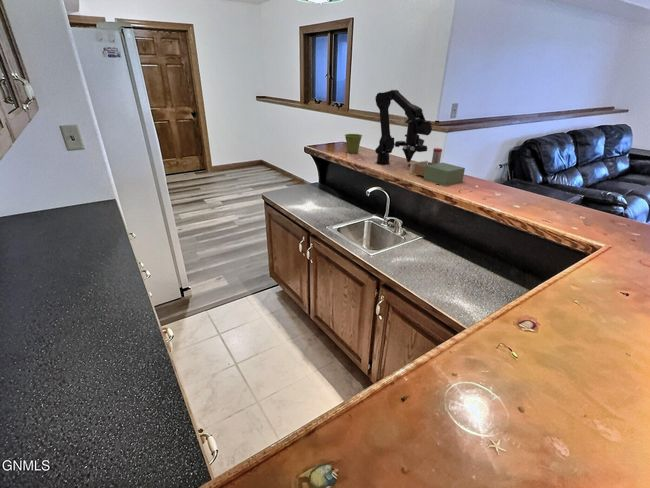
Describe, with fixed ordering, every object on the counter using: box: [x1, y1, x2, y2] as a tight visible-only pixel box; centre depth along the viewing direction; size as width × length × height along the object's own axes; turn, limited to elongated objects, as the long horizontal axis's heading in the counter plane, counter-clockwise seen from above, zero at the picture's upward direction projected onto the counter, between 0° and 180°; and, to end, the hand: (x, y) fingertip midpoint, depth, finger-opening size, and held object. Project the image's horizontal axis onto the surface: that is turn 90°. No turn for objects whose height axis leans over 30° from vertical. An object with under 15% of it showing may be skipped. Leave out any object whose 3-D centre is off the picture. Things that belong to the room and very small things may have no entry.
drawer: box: [407, 160, 435, 177], centre depth 185 cm, size 17×12×5 cm
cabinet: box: [423, 162, 466, 187], centre depth 176 cm, size 14×14×7 cm
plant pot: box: [344, 133, 363, 154], centre depth 234 cm, size 12×12×11 cm
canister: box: [431, 147, 443, 164], centre depth 193 cm, size 5×5×12 cm
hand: (408, 162), depth 193 cm, fingers closed
